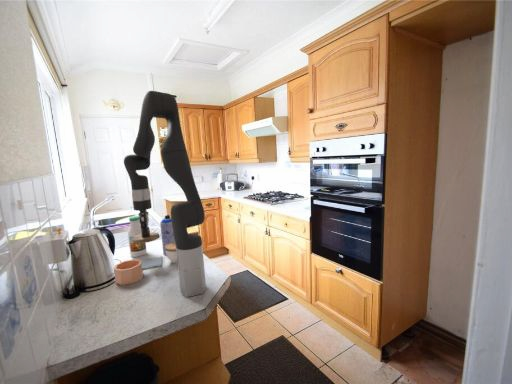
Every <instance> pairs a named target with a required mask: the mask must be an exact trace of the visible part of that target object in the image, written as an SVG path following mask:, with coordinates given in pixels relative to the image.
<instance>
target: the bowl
mask: <svg viewBox="0 0 512 384" xmlns="http://www.w3.org/2000/svg"><path fill="white" fill-rule="evenodd" d="M141 260H142V259H136V258H135V259H129V260H128V259H127V260H124V261H121V262H119V263H117V264H116V265H114V268H113V273H114V281H115V284H118V285H121V286H123V285H128V284H134V283H136V282H138V281H140V280H141V279H143V277H144V270H143V268H142V261H141Z"/></svg>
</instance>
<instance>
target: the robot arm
mask: <svg viewBox="0 0 512 384" xmlns="http://www.w3.org/2000/svg"><path fill="white" fill-rule="evenodd" d="M154 118H155V119H156V118H157V119H165V121H166V126H167V132H166V136H165V138H164V140H163V143H162V146H161V149H160V154H161V155H160V156H161V159H162V164H163V169H164V170H165V172H166V173H167V175H168V176H169V177H170V178H171V179H172V180H173V181H174V182H175V183H176V184H177V185H178V186H179V187H180V189H181V190H182V191H183V194H184V196H185V199H186V201H183V202H182V201H181V202H177V203H173V205H172V206H171V208H170V217H171V220H172V226H173V233H174V239H175V243H176V251H177V262H178V263H177V270H178V278H179V279H178V280H179V287H180V293H181V295H183V296H185V298H189V297H194V296H198V295H203V294H204V292H205V291H206V289H207V283H206V273H205V271H206V270H205V261H204V250H203V239H202V236H201V235H199V234H195V233H189V232H188V229H189V228H193V227H197V226H200V225H202V224H204V222H205V219H206V218H205V217H206V216H205V209H204V205H203V202H202V200H201V196H200V194H199V191H198V188H197V186H196V182H195V179H194V175H193V171H192V168H191V162H190V158H189V154H188V151H187V147H186V143H185V139H184V136H183V131H182V125H181V120H180V113H179V106H178V102H177V99H176V98H175V96H174V95H173V94H170V93H168V92H161V91H156V90H148V91H146V93H145V94H144V96H143V100H142V106H141V112H140V117H139V125H138V132H137V135H136V138H135V142H134V144H133V148H132V150H133V153H134V154H126V155H125V156H124V159H123V165H124V168H125V170H126V172H127V175H128V177H129V179H130V184H131V198H132V206H133V210H134V211H139V213H138V214H137V215H138V216H139V223H140V225H141V229H142V233H143V237H147V236H148V229H147V228H148V227H149V211H147V210H150V209H151V208H152V199H151V192H150V188H149V187H150V185H149V178H148V177H147V175H143V174H138V172H137V171H144V170H148V169H149V168H150V166H151V154H152V150H153V148H154V145H155V142H156V139H155V138H156V137H155V133H154V130H153V128H152V124H151V123H152V120H153V119H154Z"/></svg>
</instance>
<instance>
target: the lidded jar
mask: <svg viewBox="0 0 512 384" xmlns="http://www.w3.org/2000/svg"><path fill="white" fill-rule="evenodd" d="M165 250H166V255H167V256H166V258H167V259H168V260H169V261H170V262H171V263H172V264H178V262H177V251H176V243H175V242H173V243H170V244H168V245H166V246H165Z"/></svg>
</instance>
